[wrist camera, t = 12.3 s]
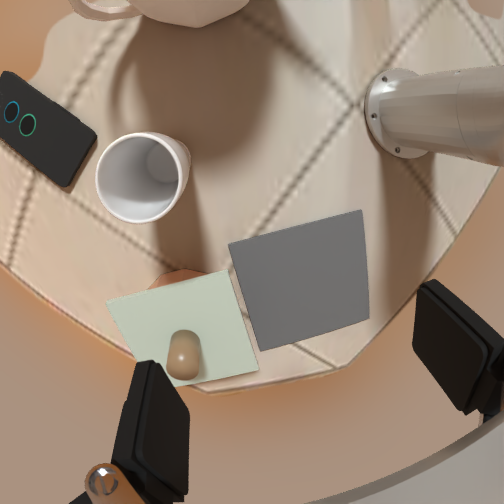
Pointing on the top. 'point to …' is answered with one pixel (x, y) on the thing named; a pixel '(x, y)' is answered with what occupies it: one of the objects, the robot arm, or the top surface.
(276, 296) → the mat
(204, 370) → the cover sheet
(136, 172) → the drinking glass
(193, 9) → the watering can
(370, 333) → the top surface
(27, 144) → the smart home device
